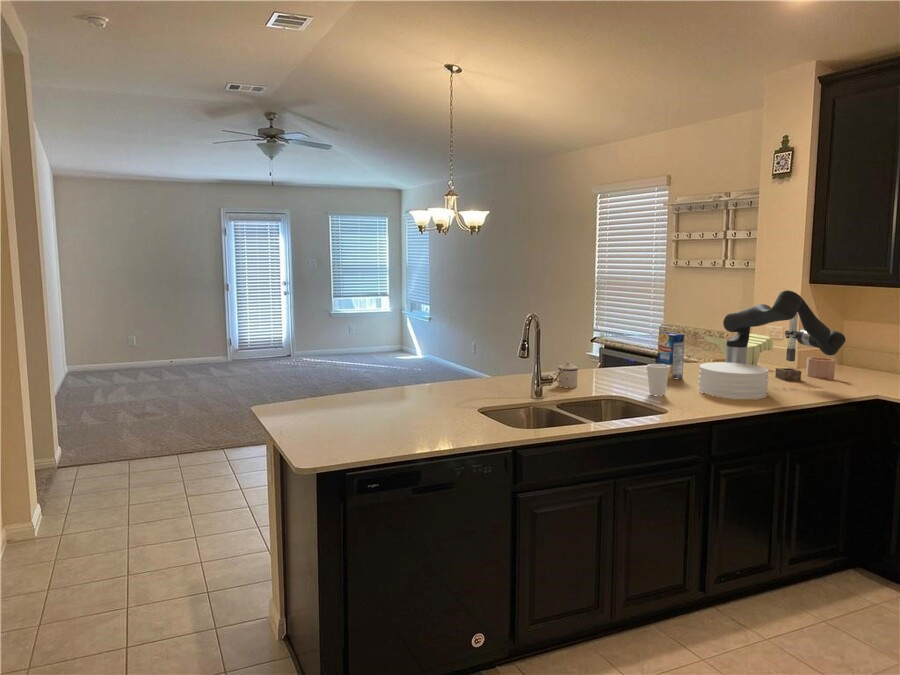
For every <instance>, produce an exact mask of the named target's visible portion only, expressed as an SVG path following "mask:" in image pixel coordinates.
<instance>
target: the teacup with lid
mask: <svg viewBox="0 0 900 675" xmlns="http://www.w3.org/2000/svg"><path fill="white" fill-rule="evenodd" d="M561 369H564V371H563V372H562V374H561V375H560V376H559V375H558V374H559V373H558V372H559V370H561ZM578 371H579V367H577V366H576V365H574V364H573V363H571V361H566V362H565V363H564V364H561V365H559V366H558V371H556V372H555V373H554V374H553V376H554V375H556V374H557V373H558V374H557V375H558V376H559V378H558V377H557V378H558V379H557V380H556V381H555V382H557V383H558V384H557V385H558V387H559V386H561V387H560V388H562V387H575V388H577V387H578ZM557 375H556V376H557Z"/></svg>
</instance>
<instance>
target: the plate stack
mask: <svg viewBox="0 0 900 675" xmlns="http://www.w3.org/2000/svg"><path fill="white" fill-rule="evenodd" d="M769 372H770V370H769V369H768V368H766V367H763V366H760V365H757V366H755V365H749V364H741V363H725V361H724V362H723V361H721V362H720V361H719V362H705V363H701V364H699V370H698V374H699V376H698V388H697V389H698V390H699V391H701V392H703V393H706V394H709V395H713V396H718V397H717V398H719V397H723V398H722V399H726V398H731V399H730V400H737V399H755V400H761V398H762V399H765V398H767V397H766V396H768V385H769V382H768V379H769V375H768V374H769ZM699 391H698V392H699ZM703 393H702V394H703ZM709 395H708V396H709ZM713 396H712V397H713Z"/></svg>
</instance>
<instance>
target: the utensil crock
mask: <svg viewBox="0 0 900 675" xmlns="http://www.w3.org/2000/svg"><path fill="white" fill-rule="evenodd" d="M835 367H836V360H835V359H834V358H828V357H824V356H823V357H821V356H820V357H819V356H817V357H816V356H812V357H811V356H809V357H806V368H805V369H806V371H805V376H807V377H810V378H815V379H817V378H818V379H828V380H831V381H834V380H835V369H836V368H835Z"/></svg>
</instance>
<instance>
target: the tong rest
mask: <svg viewBox="0 0 900 675" xmlns="http://www.w3.org/2000/svg"><path fill="white" fill-rule="evenodd" d="M774 378H776V379H778V380H781V381H786V382H787V381H789V382H790V381H794V382H795V381H796V382H797V381H800V382H801V380H802V370H799V369H795V368H792V367H776V368H775V377H774Z"/></svg>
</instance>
